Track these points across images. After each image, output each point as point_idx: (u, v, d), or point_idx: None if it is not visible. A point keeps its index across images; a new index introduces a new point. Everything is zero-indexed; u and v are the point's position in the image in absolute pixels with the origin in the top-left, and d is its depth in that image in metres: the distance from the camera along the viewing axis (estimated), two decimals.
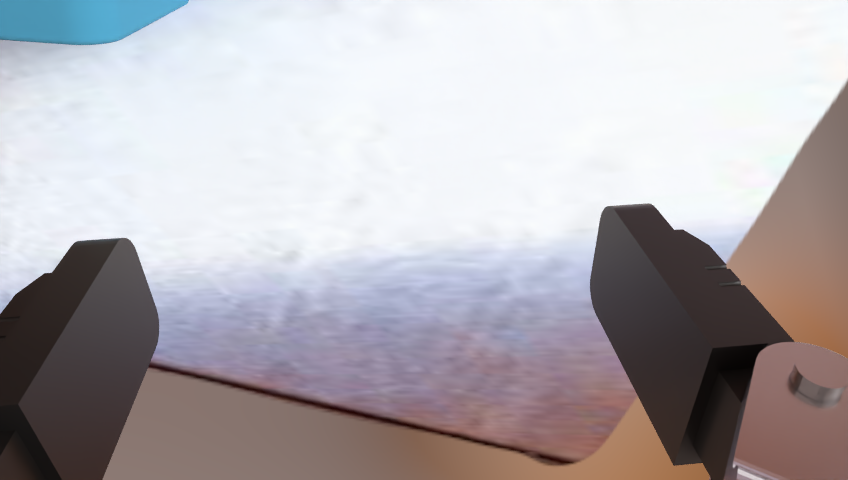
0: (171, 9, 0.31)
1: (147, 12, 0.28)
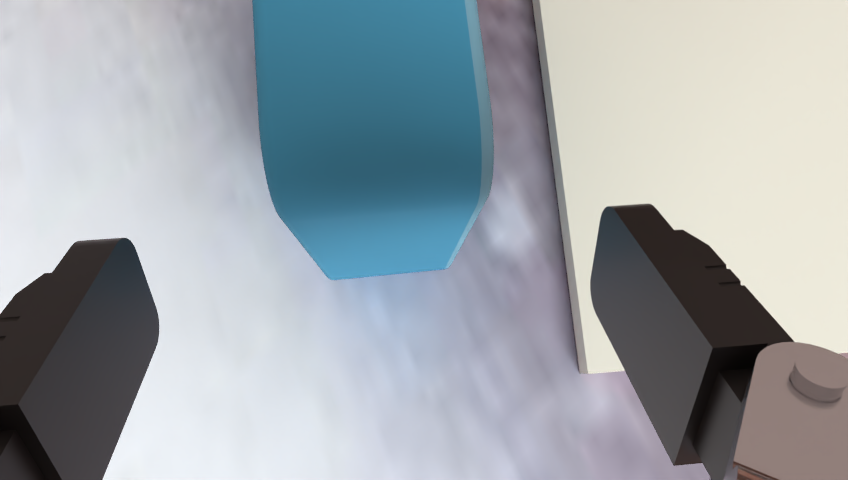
0: (323, 267, 0.18)
1: (325, 246, 0.15)
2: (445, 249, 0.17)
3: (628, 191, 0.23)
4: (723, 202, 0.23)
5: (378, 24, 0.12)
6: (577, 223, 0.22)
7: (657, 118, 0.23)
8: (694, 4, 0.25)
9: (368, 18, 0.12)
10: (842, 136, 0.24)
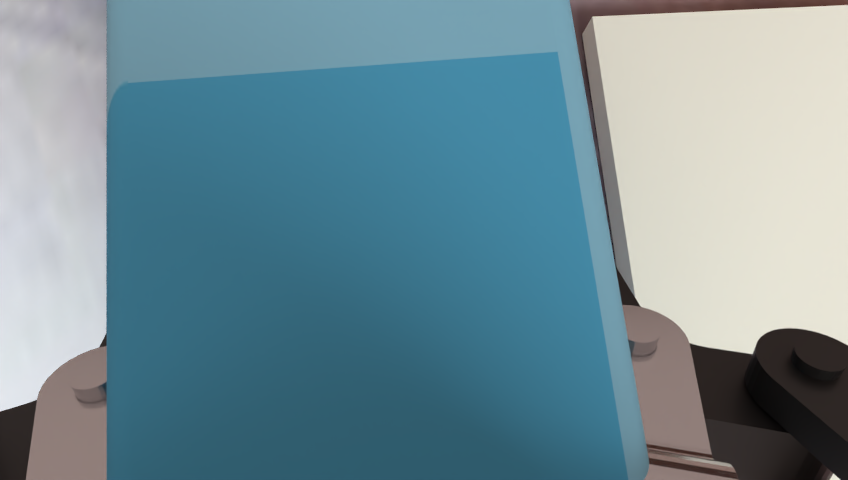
0: None
1: None
2: None
3: None
4: None
5: (409, 450, 0.05)
6: None
7: (776, 282, 0.17)
8: (818, 114, 0.18)
9: (382, 435, 0.05)
10: None
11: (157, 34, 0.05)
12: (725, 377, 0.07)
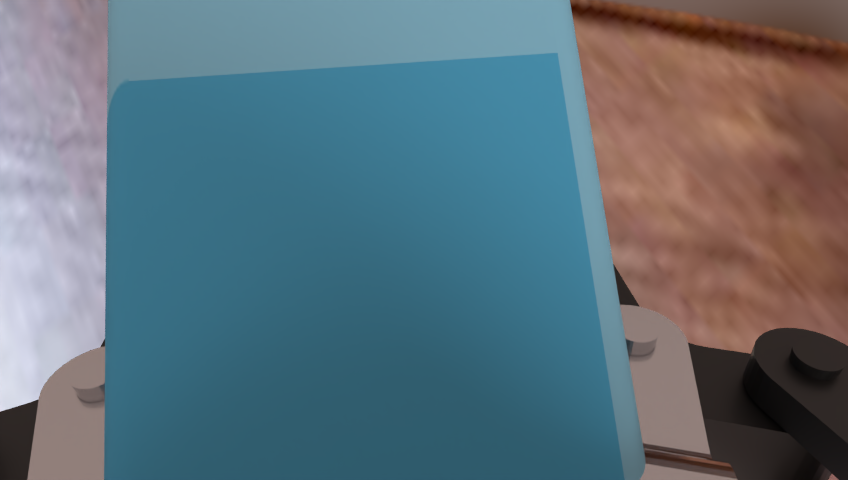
0: None
1: None
2: None
3: None
4: None
5: (405, 449, 0.05)
6: None
7: None
8: None
9: (378, 434, 0.05)
10: None
11: (158, 32, 0.05)
12: (724, 377, 0.07)
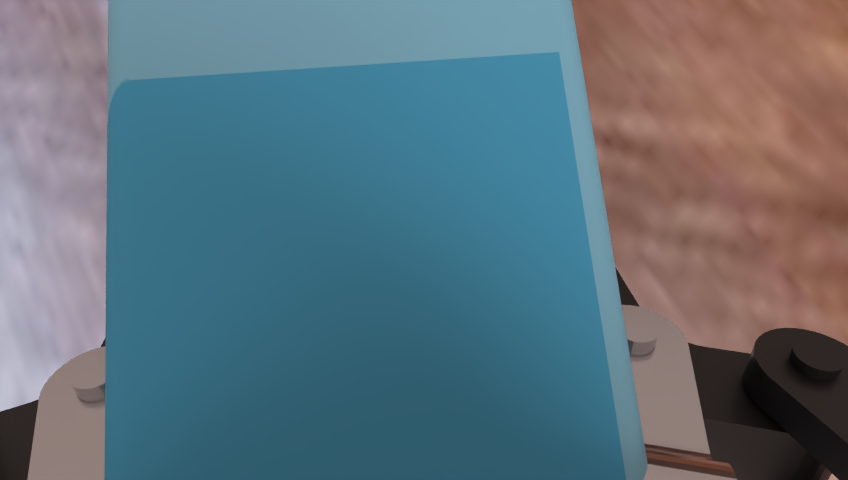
0: None
1: None
2: None
3: None
4: None
5: (405, 449, 0.05)
6: None
7: None
8: None
9: (379, 433, 0.05)
10: None
11: (158, 31, 0.05)
12: (724, 377, 0.07)
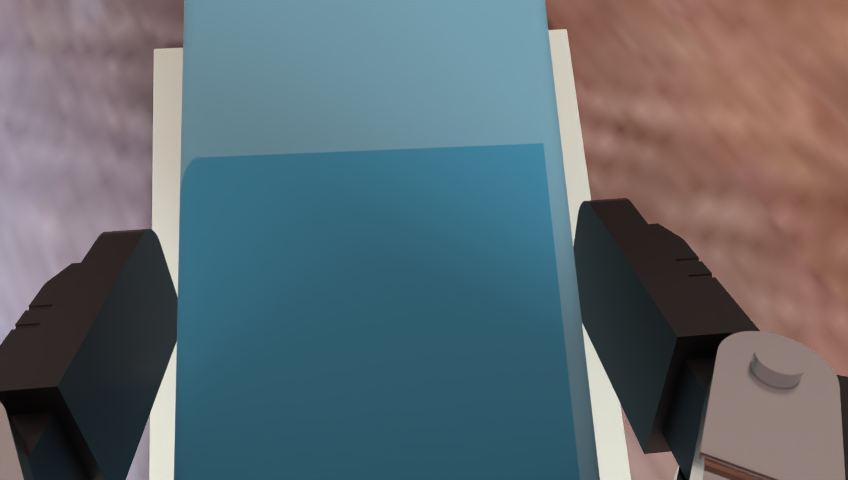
0: None
1: None
2: None
3: None
4: None
5: (409, 460, 0.06)
6: (161, 439, 0.17)
7: None
8: None
9: (389, 447, 0.06)
10: None
11: (223, 118, 0.07)
12: None
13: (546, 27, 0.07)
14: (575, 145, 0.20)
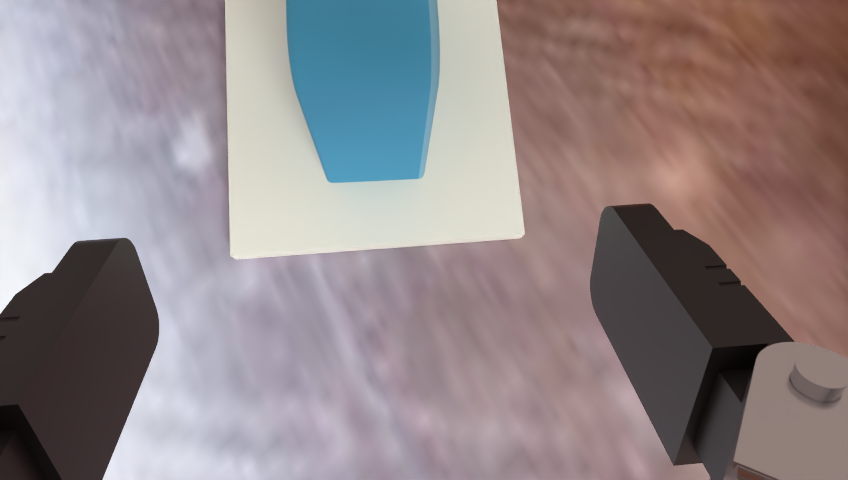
0: (324, 162, 0.24)
1: (326, 132, 0.21)
2: (415, 148, 0.24)
3: (278, 119, 0.29)
4: None
5: None
6: (234, 143, 0.29)
7: None
8: None
9: None
10: (456, 77, 0.30)
11: None
12: None
13: None
14: None
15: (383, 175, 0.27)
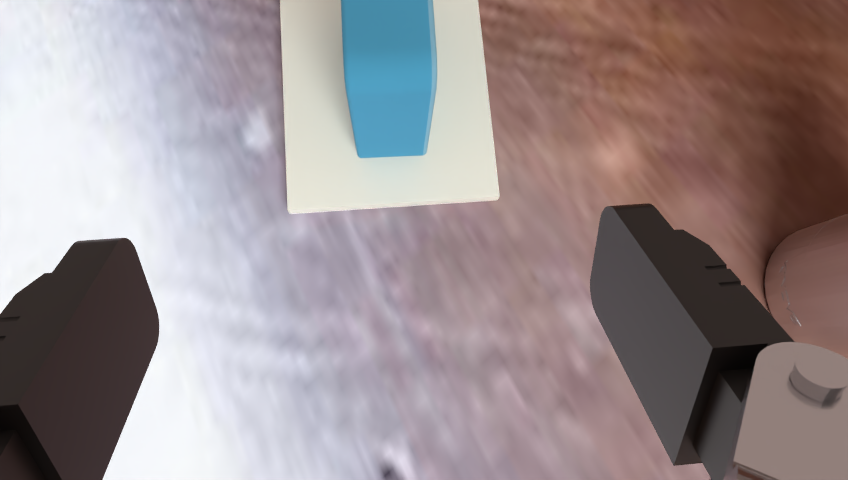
0: (358, 141, 0.35)
1: (362, 120, 0.32)
2: (421, 131, 0.35)
3: (321, 112, 0.40)
4: None
5: (392, 14, 0.29)
6: (289, 130, 0.40)
7: (342, 72, 0.41)
8: None
9: (388, 12, 0.29)
10: (450, 82, 0.41)
11: None
12: None
13: None
14: (475, 11, 0.42)
15: (398, 152, 0.38)
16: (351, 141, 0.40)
